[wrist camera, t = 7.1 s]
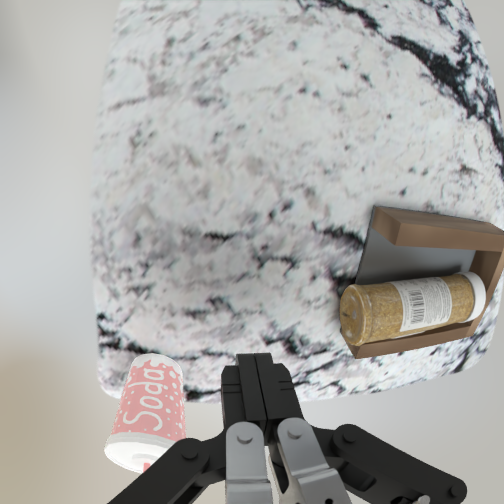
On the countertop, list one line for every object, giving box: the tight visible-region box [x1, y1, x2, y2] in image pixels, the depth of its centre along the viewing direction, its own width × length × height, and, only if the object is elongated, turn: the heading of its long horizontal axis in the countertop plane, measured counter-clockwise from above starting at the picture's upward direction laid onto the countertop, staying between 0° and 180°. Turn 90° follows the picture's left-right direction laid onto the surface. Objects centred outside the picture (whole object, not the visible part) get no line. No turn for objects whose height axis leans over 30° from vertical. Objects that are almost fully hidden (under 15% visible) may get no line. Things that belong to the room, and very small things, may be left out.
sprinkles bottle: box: [340, 272, 486, 346], centre depth 21 cm, size 5×5×13 cm
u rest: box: [340, 206, 504, 359], centre depth 21 cm, size 11×15×4 cm
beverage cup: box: [104, 353, 186, 473], centre depth 17 cm, size 6×6×14 cm
